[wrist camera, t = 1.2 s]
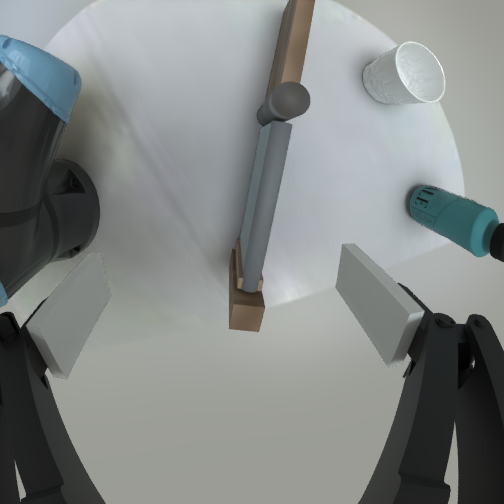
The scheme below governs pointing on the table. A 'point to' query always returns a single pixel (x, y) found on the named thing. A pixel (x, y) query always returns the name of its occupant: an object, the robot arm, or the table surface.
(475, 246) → the beverage bottle
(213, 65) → the table surface
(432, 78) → the white cup
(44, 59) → the robot arm
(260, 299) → the gate frame
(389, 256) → the table surface
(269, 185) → the gate panel
